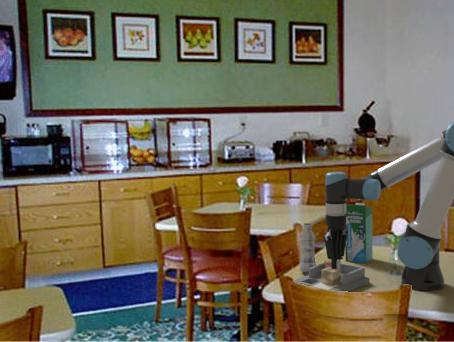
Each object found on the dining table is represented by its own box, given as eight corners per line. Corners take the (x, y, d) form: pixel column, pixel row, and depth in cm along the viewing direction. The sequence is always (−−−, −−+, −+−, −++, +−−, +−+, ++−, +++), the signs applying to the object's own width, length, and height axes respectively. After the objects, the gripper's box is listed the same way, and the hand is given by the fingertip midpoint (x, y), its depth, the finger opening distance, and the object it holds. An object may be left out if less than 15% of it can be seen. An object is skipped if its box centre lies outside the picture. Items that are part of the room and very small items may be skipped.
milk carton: (372, 258, 254) (372, 202, 252) (365, 263, 247) (365, 205, 244) (352, 256, 259) (352, 200, 256) (345, 261, 251) (344, 203, 249)
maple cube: (340, 282, 214) (340, 269, 214) (332, 285, 211) (332, 272, 210) (329, 279, 218) (329, 266, 217) (321, 283, 214) (321, 269, 214)
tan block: (337, 274, 225) (337, 261, 225) (331, 276, 222) (331, 263, 222) (328, 272, 228) (328, 259, 227) (322, 274, 225) (322, 262, 225)
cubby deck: (369, 282, 219) (369, 268, 219) (336, 297, 204) (335, 282, 203) (325, 273, 233) (325, 260, 233) (291, 286, 218) (290, 272, 217)
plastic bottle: (312, 276, 231) (311, 226, 229) (297, 273, 234) (296, 225, 232) (319, 271, 236) (318, 223, 234) (303, 269, 240) (302, 222, 238)
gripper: (337, 210, 221) (337, 270, 224) (316, 215, 212) (317, 278, 215) (354, 212, 216) (354, 274, 218) (333, 218, 207) (334, 282, 209)
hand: (335, 276), depth 216 cm, fingers closed
